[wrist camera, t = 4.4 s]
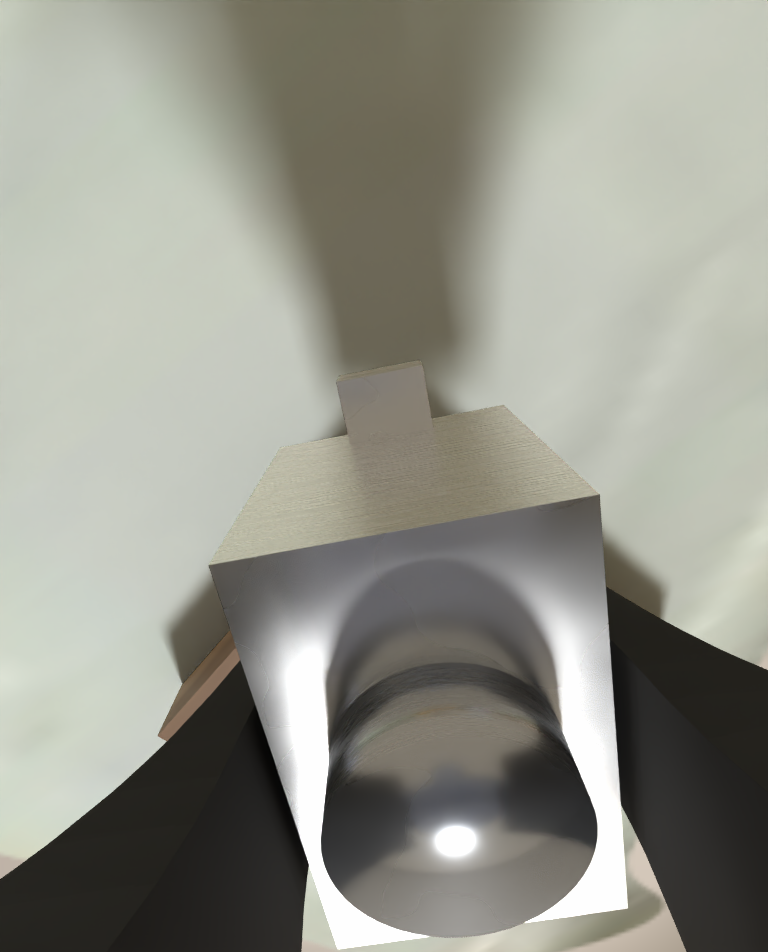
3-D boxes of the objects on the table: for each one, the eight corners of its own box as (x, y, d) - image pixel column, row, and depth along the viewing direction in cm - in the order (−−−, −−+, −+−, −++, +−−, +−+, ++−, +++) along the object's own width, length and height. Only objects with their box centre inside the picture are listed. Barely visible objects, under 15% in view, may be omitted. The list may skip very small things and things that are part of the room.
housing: (361, 753, 14) (349, 1096, 8) (264, 390, 11) (130, 512, 5) (542, 724, 14) (669, 1056, 8) (495, 345, 11) (644, 416, 5)
